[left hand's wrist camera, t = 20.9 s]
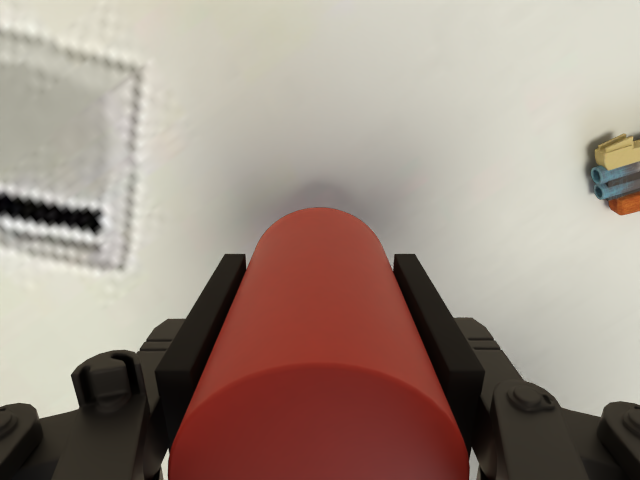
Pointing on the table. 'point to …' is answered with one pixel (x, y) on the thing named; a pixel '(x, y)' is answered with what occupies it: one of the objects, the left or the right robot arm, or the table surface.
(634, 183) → the toy gun
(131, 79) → the table surface
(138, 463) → the left robot arm
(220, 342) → the canister
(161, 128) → the table surface
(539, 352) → the table surface
